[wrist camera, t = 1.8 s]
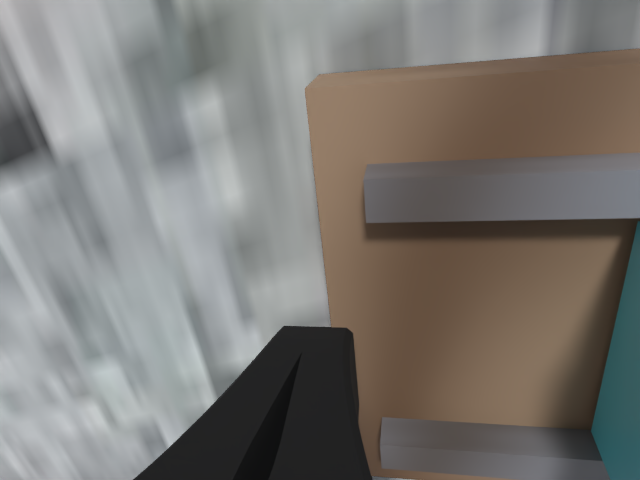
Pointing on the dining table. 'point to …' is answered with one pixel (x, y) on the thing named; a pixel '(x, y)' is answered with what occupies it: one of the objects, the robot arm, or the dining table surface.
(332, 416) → the robot arm
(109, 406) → the dining table surface
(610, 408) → the fader tab
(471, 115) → the fader console
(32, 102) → the dining table surface
